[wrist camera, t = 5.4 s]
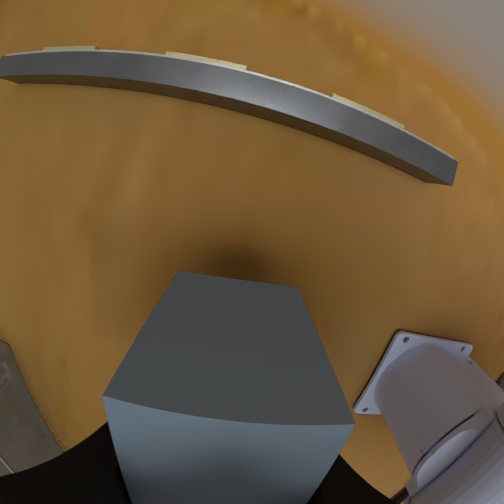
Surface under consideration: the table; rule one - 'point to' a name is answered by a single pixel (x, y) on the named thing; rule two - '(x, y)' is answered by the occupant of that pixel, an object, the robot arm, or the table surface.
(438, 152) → the rail
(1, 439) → the geiger counter
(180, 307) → the box
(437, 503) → the robot arm
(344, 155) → the table surface
